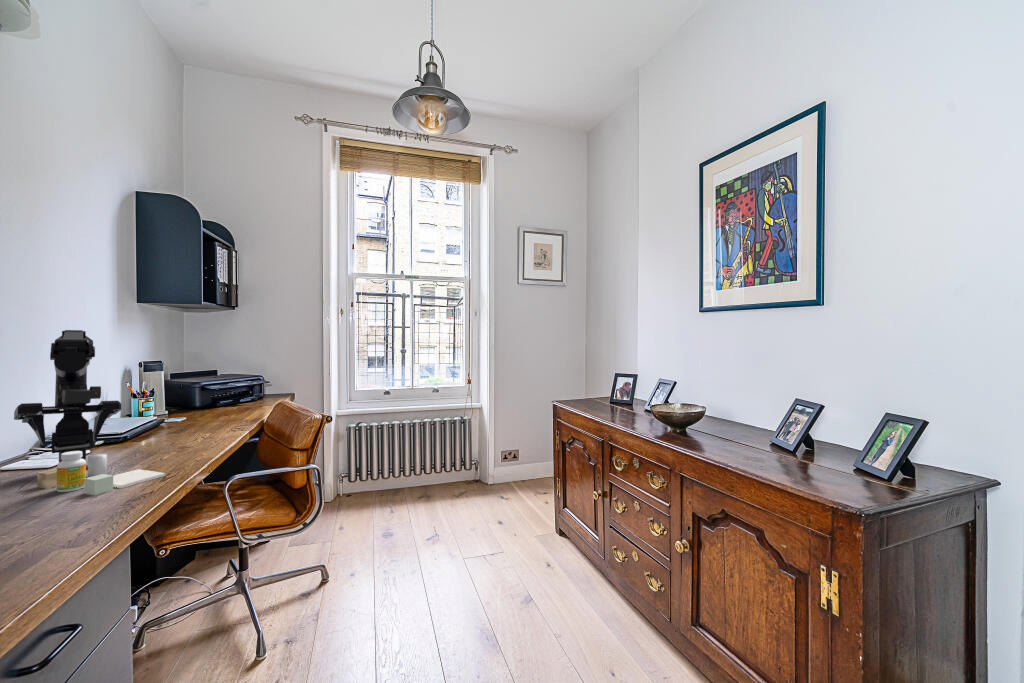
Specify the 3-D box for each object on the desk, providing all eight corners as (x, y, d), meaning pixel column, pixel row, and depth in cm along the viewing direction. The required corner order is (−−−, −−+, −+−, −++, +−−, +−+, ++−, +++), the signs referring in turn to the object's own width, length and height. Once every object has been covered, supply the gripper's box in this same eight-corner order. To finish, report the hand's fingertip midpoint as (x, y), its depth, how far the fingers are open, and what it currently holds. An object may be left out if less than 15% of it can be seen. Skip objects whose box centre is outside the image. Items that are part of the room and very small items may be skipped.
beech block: (37, 487, 114) (37, 472, 114) (56, 482, 117) (57, 468, 117) (46, 489, 112) (47, 474, 112) (66, 484, 116) (66, 469, 116)
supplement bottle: (66, 493, 110) (67, 456, 109) (50, 491, 111) (51, 454, 111) (91, 486, 115) (91, 450, 115) (75, 484, 116) (76, 449, 116)
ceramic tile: (93, 483, 117) (93, 480, 117) (138, 471, 127) (138, 469, 127) (121, 488, 114) (121, 485, 114) (164, 475, 124) (164, 473, 124)
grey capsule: (84, 477, 122) (84, 456, 122) (101, 473, 125) (101, 453, 125) (93, 479, 121) (93, 458, 120) (110, 474, 124) (110, 454, 124)
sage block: (84, 493, 110) (84, 478, 110) (102, 488, 114) (103, 473, 114) (94, 495, 109) (94, 480, 109) (113, 490, 112) (113, 475, 112)
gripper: (23, 374, 100) (20, 440, 96) (127, 375, 115) (127, 431, 111) (15, 387, 106) (11, 450, 102) (115, 386, 121) (115, 440, 117)
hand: (70, 442), depth 108 cm, fingers open, 9 cm apart
